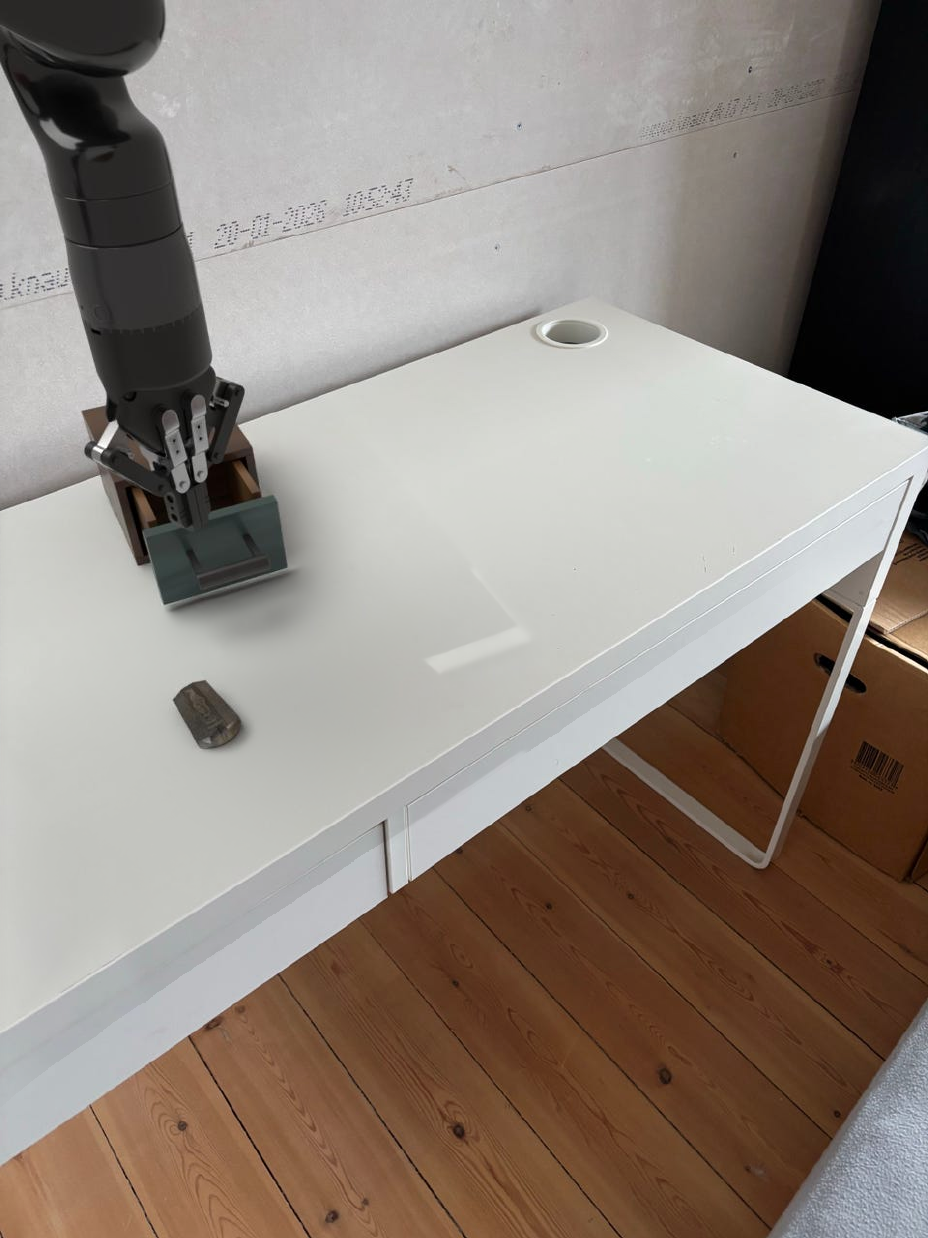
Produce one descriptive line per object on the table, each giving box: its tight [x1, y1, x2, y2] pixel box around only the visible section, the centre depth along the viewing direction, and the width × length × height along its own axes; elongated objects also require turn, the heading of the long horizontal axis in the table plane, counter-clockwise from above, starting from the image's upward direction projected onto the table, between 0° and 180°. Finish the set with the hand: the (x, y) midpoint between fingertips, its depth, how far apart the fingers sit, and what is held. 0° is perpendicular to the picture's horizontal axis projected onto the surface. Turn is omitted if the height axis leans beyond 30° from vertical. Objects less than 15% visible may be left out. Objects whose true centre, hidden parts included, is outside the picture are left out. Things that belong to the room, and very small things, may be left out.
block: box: [172, 679, 242, 749], centre depth 75 cm, size 4×6×2 cm, turn 39°
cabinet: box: [80, 404, 261, 566], centre depth 95 cm, size 15×13×9 cm
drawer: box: [126, 458, 289, 606], centre depth 88 cm, size 18×11×7 cm, turn 27°
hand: (192, 524), depth 73 cm, fingers closed
